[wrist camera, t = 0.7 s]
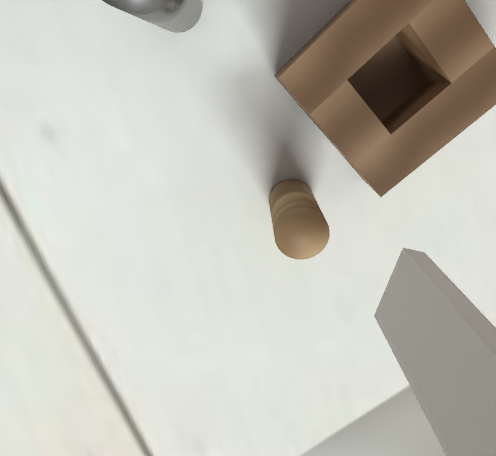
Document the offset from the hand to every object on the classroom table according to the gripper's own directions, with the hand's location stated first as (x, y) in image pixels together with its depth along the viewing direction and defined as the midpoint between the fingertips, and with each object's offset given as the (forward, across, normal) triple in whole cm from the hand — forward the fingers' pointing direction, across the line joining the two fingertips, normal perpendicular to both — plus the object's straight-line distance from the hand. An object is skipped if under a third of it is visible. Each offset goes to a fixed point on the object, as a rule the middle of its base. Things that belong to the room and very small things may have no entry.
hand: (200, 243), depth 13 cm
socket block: (+23, +11, +7) cm, 26 cm away
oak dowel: (+23, +7, -5) cm, 25 cm away
